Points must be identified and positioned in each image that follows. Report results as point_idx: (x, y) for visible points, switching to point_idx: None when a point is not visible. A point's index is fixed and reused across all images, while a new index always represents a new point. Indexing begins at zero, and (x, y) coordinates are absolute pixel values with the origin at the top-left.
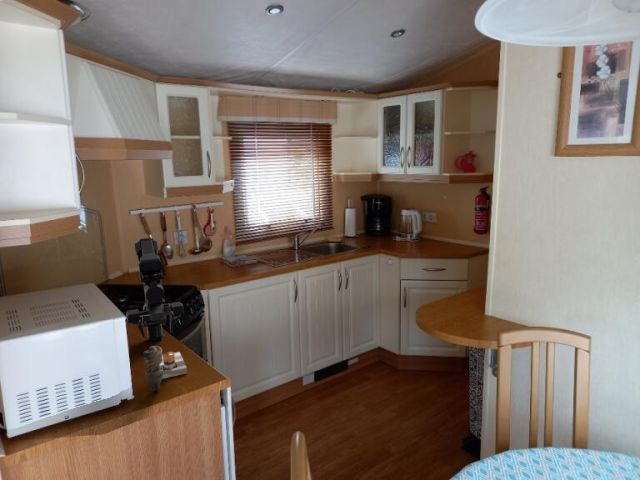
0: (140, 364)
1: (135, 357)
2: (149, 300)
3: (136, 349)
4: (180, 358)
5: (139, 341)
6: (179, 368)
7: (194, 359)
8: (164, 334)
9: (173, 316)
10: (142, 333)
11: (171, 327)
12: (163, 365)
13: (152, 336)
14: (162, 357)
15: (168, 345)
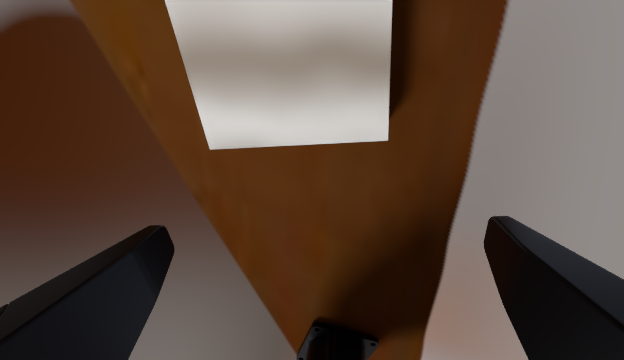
0: (447, 137)
1: (450, 228)
2: None
3: (426, 295)
4: (189, 39)
5: (400, 345)
6: None
7: (128, 62)
8: (299, 352)
9: None
10: (569, 257)
11: (98, 266)
12: None
13: (348, 349)
14: (315, 115)
15: (285, 274)
